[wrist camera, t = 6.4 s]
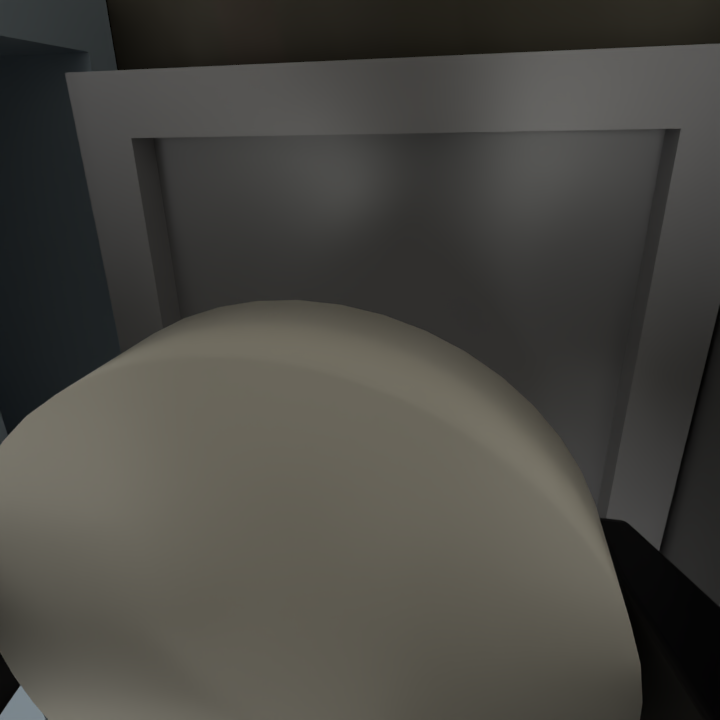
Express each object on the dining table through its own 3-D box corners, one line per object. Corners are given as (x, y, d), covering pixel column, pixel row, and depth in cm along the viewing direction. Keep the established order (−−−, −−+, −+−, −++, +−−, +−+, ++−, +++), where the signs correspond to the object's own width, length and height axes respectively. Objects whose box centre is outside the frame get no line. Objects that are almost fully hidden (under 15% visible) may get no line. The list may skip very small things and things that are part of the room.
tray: (863, -122, 9) (1165, -319, 5) (656, 652, 15) (714, 829, 12) (89, -50, 11) (-114, -140, 8) (198, 582, 18) (121, 707, 14)
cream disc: (660, 315, 5) (730, 388, 4) (564, 787, 8) (583, 936, 6) (12, 288, 6) (-125, 333, 5) (122, 697, 9) (54, 804, 8)
